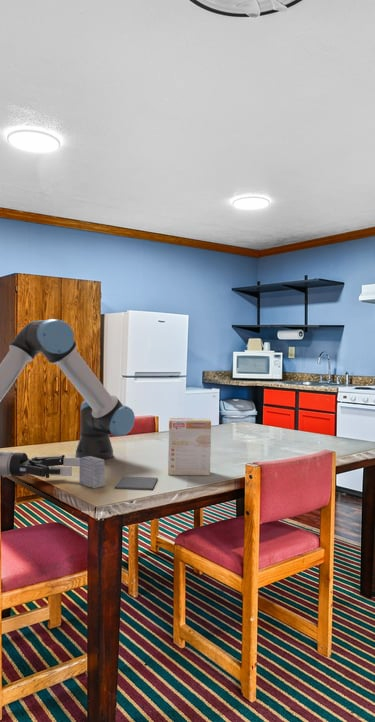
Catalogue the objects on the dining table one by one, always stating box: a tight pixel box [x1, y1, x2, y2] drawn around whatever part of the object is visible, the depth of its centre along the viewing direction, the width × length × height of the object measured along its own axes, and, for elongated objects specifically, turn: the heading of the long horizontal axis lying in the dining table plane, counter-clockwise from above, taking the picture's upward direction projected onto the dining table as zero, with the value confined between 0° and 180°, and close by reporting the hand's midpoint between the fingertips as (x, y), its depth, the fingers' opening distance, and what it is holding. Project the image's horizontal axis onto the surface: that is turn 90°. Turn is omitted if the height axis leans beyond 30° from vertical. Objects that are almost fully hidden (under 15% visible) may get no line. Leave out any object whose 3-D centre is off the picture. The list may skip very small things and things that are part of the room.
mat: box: [114, 475, 159, 491], centre depth 172 cm, size 14×12×1 cm
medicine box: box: [79, 456, 105, 489], centre depth 169 cm, size 8×4×9 cm, turn 45°
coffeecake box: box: [167, 417, 212, 476], centre depth 189 cm, size 15×7×20 cm, turn 92°
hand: (77, 466), depth 169 cm, fingers open, 13 cm apart
